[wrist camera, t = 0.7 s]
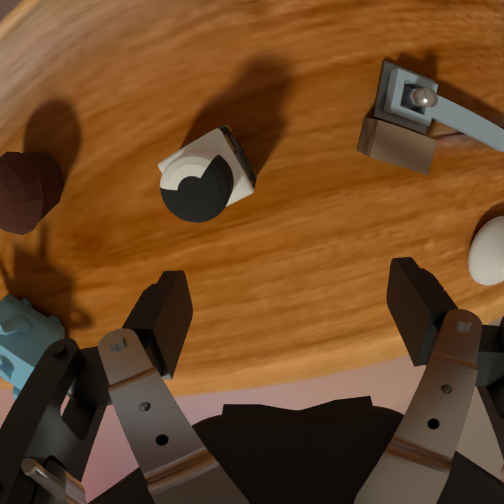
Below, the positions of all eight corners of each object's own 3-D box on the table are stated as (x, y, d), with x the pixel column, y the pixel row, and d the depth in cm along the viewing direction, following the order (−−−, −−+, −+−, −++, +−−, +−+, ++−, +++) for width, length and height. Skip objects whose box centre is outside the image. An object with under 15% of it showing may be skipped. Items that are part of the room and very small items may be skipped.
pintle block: (382, 61, 29) (405, 53, 23) (432, 81, 29) (461, 79, 23) (371, 115, 32) (393, 118, 26) (422, 133, 32) (450, 140, 26)
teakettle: (94, 354, 52) (62, 412, 38) (42, 363, 55) (12, 409, 42) (38, 271, 44) (-13, 321, 31) (-6, 295, 48) (-47, 336, 35)
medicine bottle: (258, 176, 36) (252, 208, 25) (205, 203, 38) (179, 245, 27) (228, 123, 33) (207, 130, 23) (176, 153, 35) (136, 175, 24)
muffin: (47, 231, 41) (7, 261, 32) (8, 183, 37) (-35, 204, 28) (84, 179, 37) (39, 202, 28) (40, 126, 34) (-9, 138, 25)
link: (383, 111, 30) (389, 111, 28) (391, 70, 28) (398, 68, 26) (495, 158, 31) (504, 161, 29) (502, 123, 29) (512, 125, 27)
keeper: (363, 117, 32) (378, 119, 27) (416, 135, 32) (436, 140, 27) (356, 150, 34) (369, 157, 29) (409, 165, 34) (427, 175, 29)
